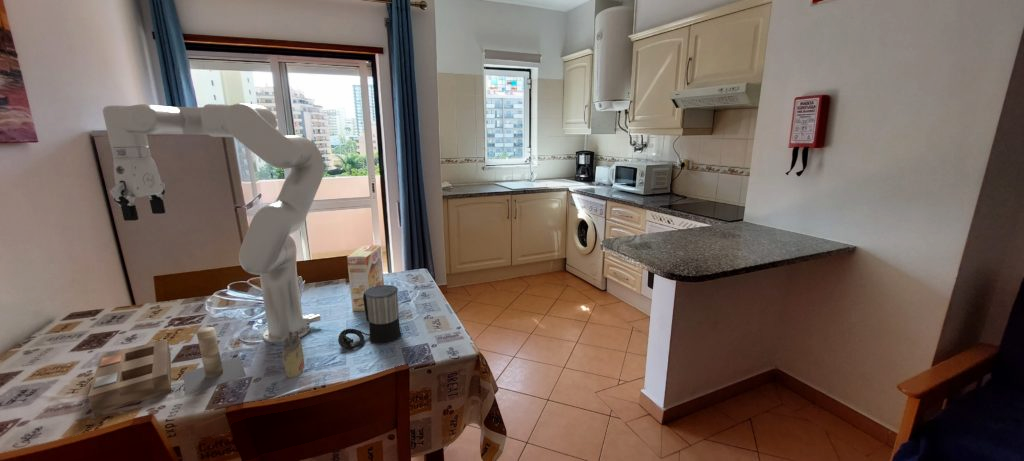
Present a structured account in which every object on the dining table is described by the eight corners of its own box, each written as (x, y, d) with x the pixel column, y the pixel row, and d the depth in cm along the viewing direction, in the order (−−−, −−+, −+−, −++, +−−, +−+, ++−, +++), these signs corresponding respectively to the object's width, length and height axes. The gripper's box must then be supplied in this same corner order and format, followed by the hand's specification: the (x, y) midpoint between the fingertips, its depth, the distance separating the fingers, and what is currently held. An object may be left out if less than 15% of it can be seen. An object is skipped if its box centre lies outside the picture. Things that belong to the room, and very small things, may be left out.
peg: (222, 368, 105) (214, 325, 102) (223, 374, 102) (215, 330, 100) (205, 373, 103) (196, 330, 100) (206, 380, 100) (197, 335, 97)
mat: (239, 357, 111) (239, 356, 111) (246, 377, 102) (246, 375, 102) (183, 374, 103) (183, 372, 103) (185, 396, 94) (185, 395, 94)
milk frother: (408, 333, 123) (404, 287, 120) (370, 358, 110) (365, 307, 106) (372, 324, 129) (367, 280, 126) (332, 348, 115) (325, 299, 112)
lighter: (299, 377, 101) (294, 341, 99) (282, 380, 100) (277, 343, 98) (306, 362, 108) (301, 328, 106) (290, 364, 107) (285, 329, 105)
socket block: (170, 355, 112) (167, 337, 111) (171, 392, 96) (166, 372, 95) (105, 372, 104) (100, 354, 103) (93, 416, 88) (87, 395, 87)
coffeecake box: (372, 311, 139) (366, 256, 135) (351, 311, 139) (345, 256, 135) (385, 294, 154) (381, 244, 149) (367, 294, 154) (362, 244, 150)
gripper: (119, 155, 101) (135, 222, 105) (170, 152, 118) (182, 210, 122) (86, 155, 100) (103, 223, 104) (142, 152, 117) (155, 211, 121)
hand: (145, 216), depth 113 cm, fingers open, 9 cm apart
